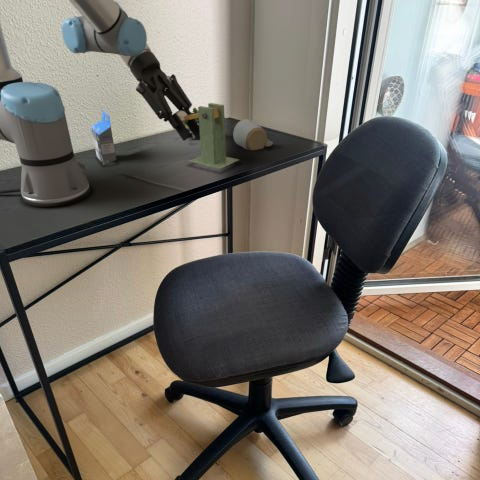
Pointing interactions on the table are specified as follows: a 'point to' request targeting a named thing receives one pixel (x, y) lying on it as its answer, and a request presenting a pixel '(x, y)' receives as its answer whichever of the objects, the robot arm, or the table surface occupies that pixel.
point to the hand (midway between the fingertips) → (192, 135)
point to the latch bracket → (212, 138)
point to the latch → (185, 117)
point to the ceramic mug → (250, 135)
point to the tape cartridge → (104, 140)
